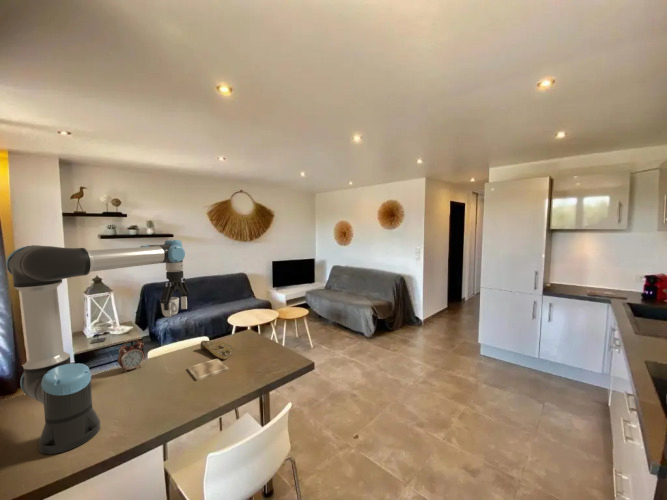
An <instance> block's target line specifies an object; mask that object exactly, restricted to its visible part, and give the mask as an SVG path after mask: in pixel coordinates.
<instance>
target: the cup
mask: <svg viewBox="0 0 667 500" xmlns="http://www.w3.org/2000/svg"><path fill="white" fill-rule="evenodd" d="M160 301H161V299H160ZM160 301H159V302H160ZM163 301H164V300H163ZM167 301H168V300H167ZM169 303H171V317H172V316H175V315H177V314H178V312H179V307H180V305H179V303H180V298H179V297H177V296H172V297H171V300H170V302H169ZM160 306H161V313H162V315H163V316H164V317H165V310H164V304H162V303H160Z"/></svg>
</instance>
